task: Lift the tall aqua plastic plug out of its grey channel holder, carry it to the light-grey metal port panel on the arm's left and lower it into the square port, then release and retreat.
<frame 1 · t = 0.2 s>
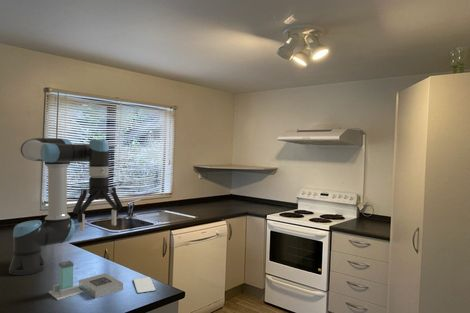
hand: (98, 227, 143), 27 cm above the worktop, fingers open, 13 cm apart
grey channel holder: (66, 292, 142), on the worktop
smartphone: (144, 286, 151), on the worktop
plug: (66, 291, 142), resting on grey channel holder
port panel: (100, 288, 147), on the worktop
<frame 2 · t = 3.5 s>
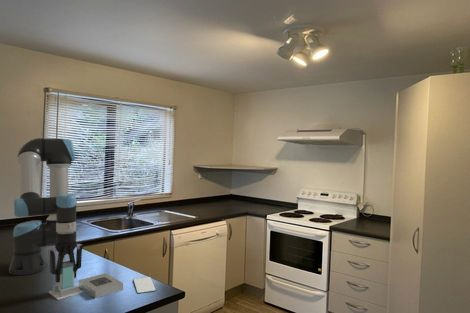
hand: (66, 287, 142), 2 cm above the worktop, fingers closed on plug, 4 cm apart
plug: (66, 291, 142), resting on grey channel holder, touching gripper
everything else where it was.
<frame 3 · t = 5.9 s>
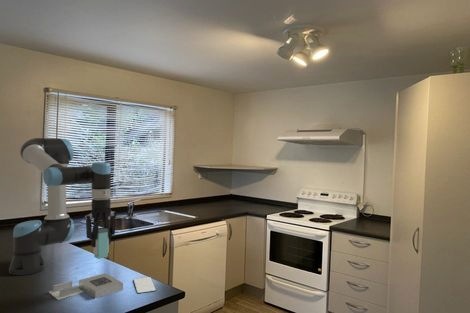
hand: (101, 253, 146), 15 cm above the worktop, fingers closed on plug, 4 cm apart
plug: (101, 256, 146), point 14 cm above the worktop, touching gripper
everything else where it was.
when the fingers open (4 cm above the worktop, at t = 8.2 s): plug drops 2 cm, resting in port panel.
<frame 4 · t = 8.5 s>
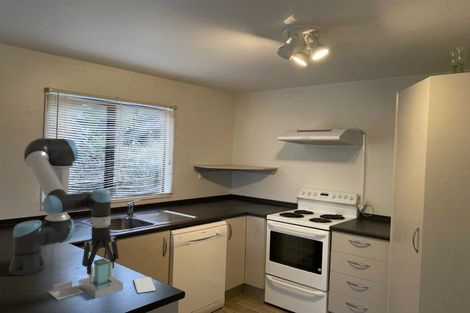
hand: (100, 278, 147), 4 cm above the worktop, fingers open, 8 cm apart
plug: (100, 288, 147), resting in port panel
everything else where it was.
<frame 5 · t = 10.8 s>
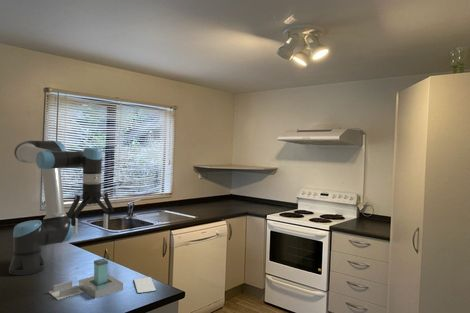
hand: (90, 230, 152), 24 cm above the worktop, fingers open, 13 cm apart
nothing on the worktop moved.
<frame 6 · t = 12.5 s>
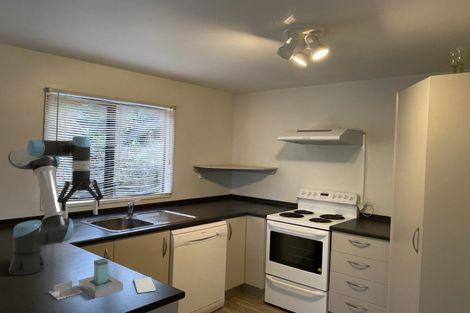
hand: (80, 216, 158), 29 cm above the worktop, fingers open, 13 cm apart
nothing on the worktop moved.
at the end: plug 0.0 cm off-centre on the port panel, point 0.0 cm above the port panel's base; plug tilted 0°; the gripper is holding nothing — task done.
